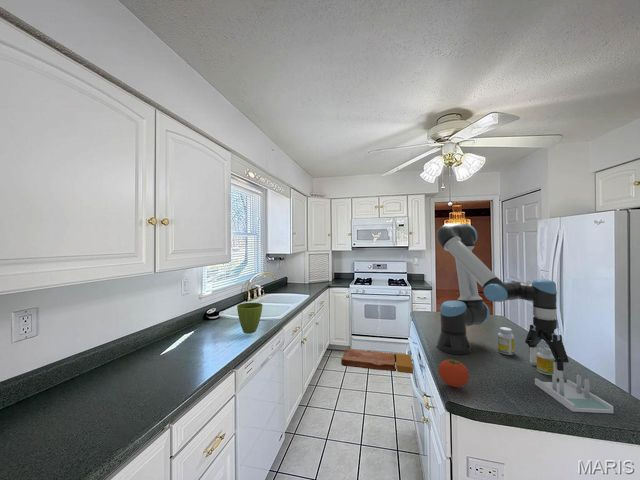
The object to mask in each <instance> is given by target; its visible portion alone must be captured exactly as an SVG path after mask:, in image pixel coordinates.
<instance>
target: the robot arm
mask: <svg viewBox="0 0 640 480" xmlns="http://www.w3.org/2000/svg"><path fill="white" fill-rule="evenodd" d="M436 240H437V242H438V244H439V245H440V246H441V248H442V249H443V250H444V251H445V252H449V254H451V256H453V258H454V261H455V267H456V274H457V281H458V288H459V289H458V290H459V297H458V298H457V300H446V301H444V302H442V303H441V305H440V311H439V312H440V333H439V335H438V338H437V342H436V343H437V344H436V346H437V349H439V350H441V351H442V352H445V353H449V354H453V355H462V356H463V355H468V354H470V353H471V351H472V350H471V349H472V348H471V344H470V342H469V339H468V335H467V327H471V326H476V325H477V326H478V325H481V324H484V323H486V322H487V321H488V320H489V319H490V318H489V317H490V315H491V314H490V308H489V307H488V306H487V304H486V303H485V302H484V299H483V297H481V296H480V294H479V290H478V284H479V285H480V286H481V287H482V288H483V294H484V297H485V298H486V299H487V300H488V301H490V302H493V303H497V302H498V303H501V302H506V301H512V300H513V301H514V300H515V301H516V300H522V301H523V300H524V301H528V302H532V316H533V317H532V324H529V330H528V333H527V335H526V338H525V341H524V343H525V344H527V346H528V350H529V363H530V364H537V353H538V345H539V343H540V342H541V341H543V342H545V344H546V345H548V348H549V349H550V350H551V355H553V357H554V374H556V375H557V379H559V378H562V379H564V375H563V374H564V373H563V372H564V371H565V370H564V368H565V367H564V363H566V364H567V363H569V362H570V361H569V357H568V355H567V352H566V349H565V345H564V342H563V337H562V334H556V332H555V331H556V330H557V329H558V320H557V317H558V316H557V315H558V314H557V308H558V307H557V303H558V302H557V301H558V300H557V295H558V290H557V284H556V282H555V281H553V280H550V279H549V280H548V279H532V283H530V282H529V283H528V282H521V281H515V280H504V281H502V280H501V279H500V278H499V277H498V276H497V275H496V274H495V273H494V272H493V271H492V270H491V269H490V268H488V267H487V265H486V264H485V263H484V262H482V260H481V259H480V258H479V257H478V256H477V255H476V254H474V253H473V250H474V248H475V243H476V242H477V240H478V231H477V230H476V229H475V227H474V226H473V225H470V224H466V223H446V224H443V225H441V226H440V227H439V228H438V230H437V232H436ZM477 283H478V284H477Z"/></svg>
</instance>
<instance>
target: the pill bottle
mask: <svg viewBox="0 0 640 480" xmlns="http://www.w3.org/2000/svg"><path fill="white" fill-rule="evenodd" d="M499 331H500V332H498V333H497V350H498V352H499V353H500V354H504V355H507V356H509V355H510V356H512V355H514V354H515V336H514V334H513V329H511V328H510V327H504V326H502V327H499Z"/></svg>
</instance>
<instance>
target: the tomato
mask: <svg viewBox="0 0 640 480" xmlns="http://www.w3.org/2000/svg"><path fill="white" fill-rule="evenodd" d="M438 365H439V366H438V375H439V376H440V377H439V378H440V379H441V381H443V382H444V383H445V384H446V385H448V386H450V387H454V388H461V387H463V386H465V385H466V384H467V383H468V381H469V378H470V375H469V371H468V368H467V367H466V366H465V364H464V363H462V361H459V360H457V359H455V358H447V357H446V359H445V360H443V361H441V362H440V363H439V364H438Z"/></svg>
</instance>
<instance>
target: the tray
mask: <svg viewBox="0 0 640 480" xmlns="http://www.w3.org/2000/svg"><path fill="white" fill-rule="evenodd" d="M551 377H552V378H551V381H542V380H540V379H539V378H534V385H536V386H537V387H538V388H540V389H541V390H542V391H544V392H545V393H546V394H547V395H549V396H551V397H552V398H553V399H554V400H555V401H557V402H559V403H560V404H562V405H563V406H564V407H566V408H567V409H568V410H570V411H571V412H576V413H595V414H596V413H597V414H614V405H612V404H610V403H608V402H607V401H606V400H603V399H602V398H601V397H599V396H597V395H595V394H593V393H592V392H590V379H588V378H584V380H583V381H584V384H583V385H584V386H582V375H580V374H576V380H575V381H576V383H575V382H574V381H572V380H570V379H566V382H565V379H564V378H557V375H556V374H552V375H551ZM557 379H559V380H557ZM583 387H584V388H583Z"/></svg>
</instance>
